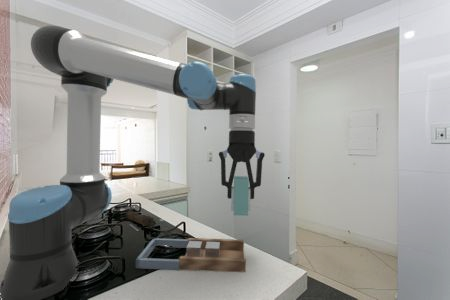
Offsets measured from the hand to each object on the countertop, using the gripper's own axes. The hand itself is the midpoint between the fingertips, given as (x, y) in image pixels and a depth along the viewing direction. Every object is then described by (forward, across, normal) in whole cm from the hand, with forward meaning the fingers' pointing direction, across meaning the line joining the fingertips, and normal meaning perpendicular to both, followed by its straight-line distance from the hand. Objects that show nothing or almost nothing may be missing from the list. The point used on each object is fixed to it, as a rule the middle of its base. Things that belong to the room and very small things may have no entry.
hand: (240, 209), depth 63 cm
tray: (+16, -23, 0) cm, 28 cm away
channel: (+16, -8, 0) cm, 18 cm away
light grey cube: (+15, -8, 0) cm, 17 cm away
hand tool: (+17, -42, +28) cm, 53 cm away
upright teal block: (+1, 0, 0) cm, 1 cm away
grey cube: (+15, -14, 0) cm, 20 cm away
